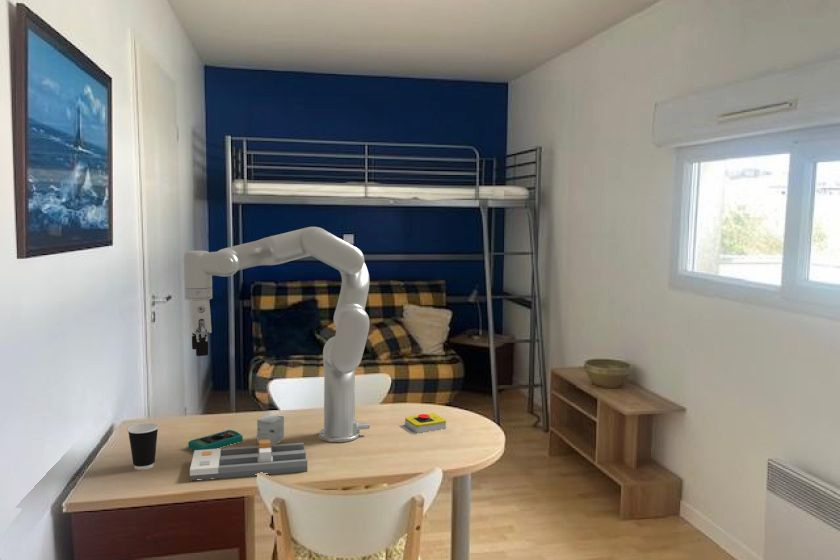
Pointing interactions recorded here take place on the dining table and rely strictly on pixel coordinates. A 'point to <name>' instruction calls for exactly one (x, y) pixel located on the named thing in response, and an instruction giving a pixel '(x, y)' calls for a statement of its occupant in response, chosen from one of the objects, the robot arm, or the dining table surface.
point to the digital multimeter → (215, 440)
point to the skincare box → (270, 428)
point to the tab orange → (264, 444)
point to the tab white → (265, 455)
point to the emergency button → (424, 423)
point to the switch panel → (247, 461)
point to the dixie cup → (143, 444)
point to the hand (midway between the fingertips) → (200, 352)
